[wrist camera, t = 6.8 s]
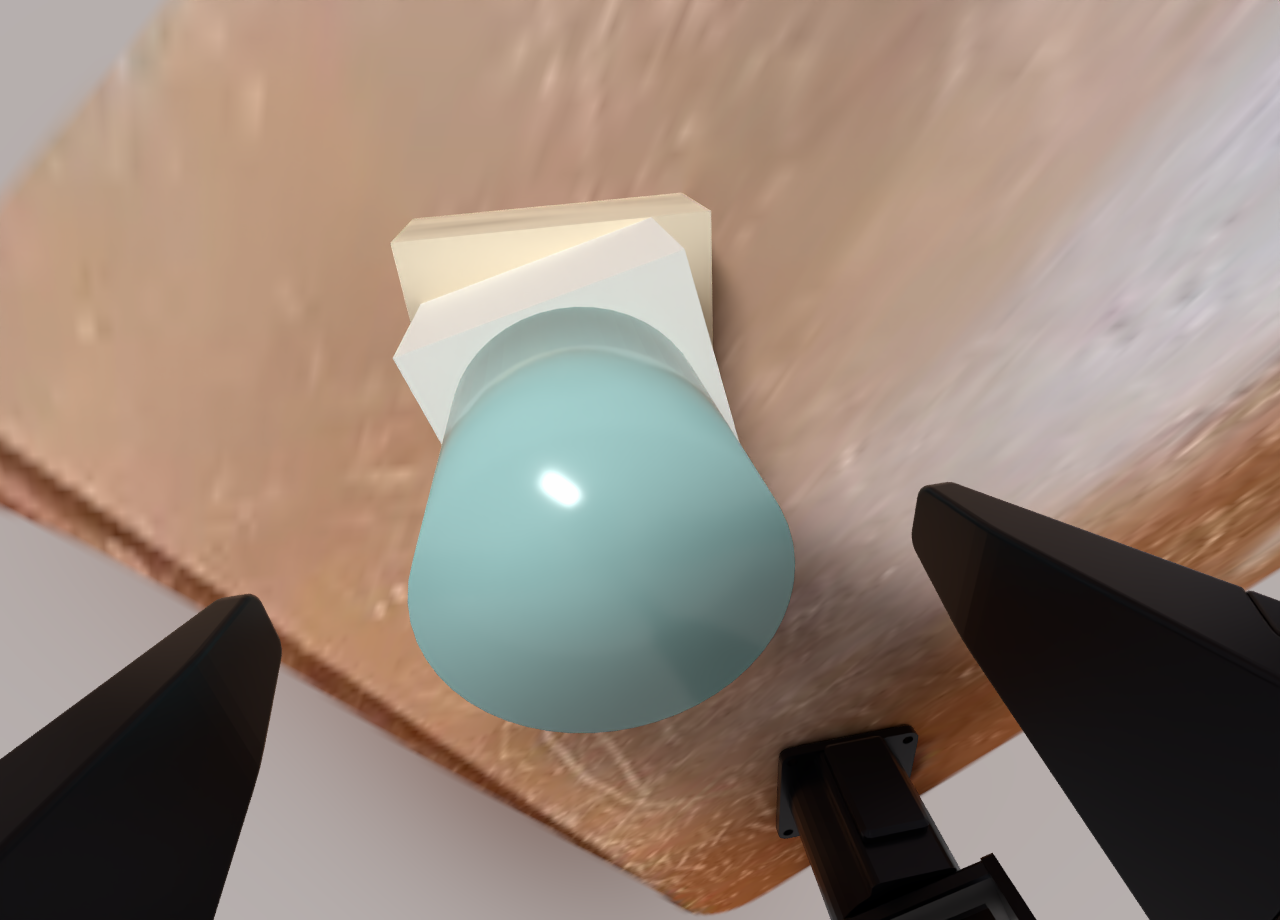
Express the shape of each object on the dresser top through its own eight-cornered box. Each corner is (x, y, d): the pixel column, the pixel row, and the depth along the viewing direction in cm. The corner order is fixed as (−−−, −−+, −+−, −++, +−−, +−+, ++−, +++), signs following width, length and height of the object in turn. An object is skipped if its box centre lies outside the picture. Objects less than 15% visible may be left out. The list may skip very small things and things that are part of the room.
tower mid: (713, 423, 17) (753, 493, 14) (519, 494, 17) (518, 578, 14) (651, 217, 14) (684, 249, 11) (420, 304, 14) (393, 358, 11)
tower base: (687, 422, 21) (714, 477, 18) (468, 451, 20) (458, 513, 17) (679, 191, 17) (710, 210, 14) (415, 216, 17) (390, 243, 14)
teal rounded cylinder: (714, 511, 14) (797, 691, 10) (487, 557, 14) (468, 764, 9) (693, 284, 12) (791, 391, 7) (415, 333, 11) (347, 474, 7)
